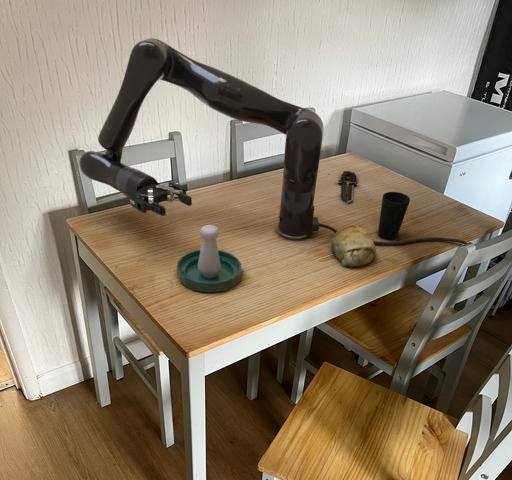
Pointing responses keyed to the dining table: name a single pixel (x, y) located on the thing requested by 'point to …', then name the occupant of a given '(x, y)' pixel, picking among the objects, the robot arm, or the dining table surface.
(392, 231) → the cup
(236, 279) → the teal round dish
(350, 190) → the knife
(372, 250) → the pastry
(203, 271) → the salt shaker
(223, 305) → the dining table surface
